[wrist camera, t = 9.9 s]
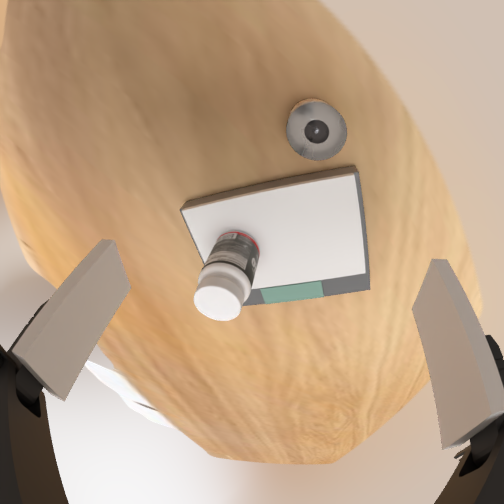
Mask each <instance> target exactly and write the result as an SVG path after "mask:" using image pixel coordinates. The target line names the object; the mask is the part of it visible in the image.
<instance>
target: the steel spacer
mask: <svg viewBox="0 0 504 504" xmlns="http://www.w3.org/2000/svg"><path fill="white" fill-rule="evenodd" d="M286 134H287V138H288V141H289V143H290V145H291V147H292V148H293V149H294V150H295V151H296V152H297V153H298V154H299V155H301V156H303V157H305V158H307V159H311V160H325V159H328V158H331V157H333V156H334V155H336V154H337V153H338V152H339V151H340V150H341V149H342V147H343V146H344V144H345V141H346V137H347V128H346V124H345V121H344V119H343V117H342V116H341V115H340V113H339V112H338V111H337V110H336V109H334V108H333V107H332V106H330V105H329V104H328V103H326V102H324V101H323V100H320V99H315V98H309V99H304V100H302V101H300V102H298V103H297V104H296V105H295V106H294V107H293V109H292V111H291V113H290V116H289V119H288V122H287V126H286Z"/></svg>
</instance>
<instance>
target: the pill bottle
mask: <svg viewBox="0 0 504 504" xmlns="http://www.w3.org/2000/svg"><path fill="white" fill-rule="evenodd" d="M259 256H260V250H259V246H258V244H257V242H256V241H255V240H254V239H253V238H252V237H251V236H250V235H248V234H247V233H244V232H242V231H236V230H234V231H228V232H225V233H223V234H222V235H221V236H219V238H218V239H217V241H216V243H215V245H214V247H213V249H212V251H211V253H210V255H209V257H208V259H207V261H206V263H205V265H204V267H203V268H202V270H201V273H200V275H199V278H198V286H197V289H196V292H195V294H194V303H195V306H196V307H197V309H198V310H199V311H200V312H201V313H202V314H204V315H205V316H207V317H209V318H211V319H214V320H219V321H228V320H231V319H234V318H235V317H237V316H238V315H239V313H240V311H241V308H242V305H243V303H244V302H245V301H246V300H247V298H248V297H249V295H250V292H251V288H252V285H253V280H254V276H255V272H256V268H257V264H258V260H259Z"/></svg>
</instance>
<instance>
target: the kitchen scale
mask: <svg viewBox="0 0 504 504" xmlns="http://www.w3.org/2000/svg"><path fill="white" fill-rule="evenodd" d="M180 212H181V214H182V216H183V219H184V221H185V223H186V225H187V228H188V230H189V232H190V234H191V237H192V239H193V241H194V243H195V246H196V248H197V250H198V252H199V254H200V257H201V259H202V261H203V263H204V265H205V263H206V261H207V259H208V257H209V255H210V253H211V251H212V249H213V247H214V245H215V243H216V241H217V239H218V238H219V236H221V235H222V234H223V233H225V232H228V231H234V230H236V231H242V232H244V233H247V234H248V235H250V236H251V237H252V238H253V239H254V240H255V241H256V242H257V244H258V246H259V250H260V256H259V260H258V264H257V268H256V272H255V276H254V280H253V285H252V288H251V292H250V295H249V297H248V298H247V300H246V301H245V302H244V303H243V305H242V306H247V305H257V304H271V303H280V302H288V301H296V300H304V299H312V298H320V297H324V296H331V295H338V294H344V293H351V292H358V291H364V290H370V275H369V258H368V245H367V234H366V224H365V215H364V207H363V199H362V192H361V185H360V178H359V172H358V170H357V168H356V167H355V166H350V167H344V168H338V169H332V170H326V171H321V172H315V173H310V174H305V175H300V176H294V177H289V178H285V179H280V180H275V181H270V182H266V183H261V184H257V185H252V186H248V187H243V188H239V189H235V190H231V191H226V192H222V193H218V194H214V195H210V196H206V197H202V198H198V199H195V200H191V201H187V202H186V203H185V204H184V205H183V206H182V207H181V209H180Z"/></svg>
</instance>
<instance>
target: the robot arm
mask: <svg viewBox="0 0 504 504" xmlns="http://www.w3.org/2000/svg"><path fill="white" fill-rule="evenodd" d="M130 289H131V286H130V283H129V280H128V277H127V275H126V272H125V269H124V266H123V263H122V261H121V258H120V255H119V252H118V249H117V246H116V243H115V240H104V239H102V240H101V241H100V242H99V243H98V244H97V245H96V246H95V247H94V248H93V249H92V250H91V251H90V253H89V254H88V255H87V256H86V257H85V258H84V259H83V260H82V261H81V262H80V264H79V265H78V266H77V267H76V268H75V269H74V270H73V272H72V273H71V274H70V275H69V276H68V277H67V278H66V280H65V281H64V282H63V283H62V284H61V286H60V287H59V288H58V289H57V290H56V292H55V293H54V294H53V295H52V297H51V298H50V299H49V300H48V301H46V302H45V303H44V304H43V305H41V306H40V308H39V309H38V310H37V311H36V313H35V314H34V317H32V318H31V319H30V321H29V322H28V324H27V325H26V326H25V327H24V329H23V330H22V332H21V333H20V334H19V336H18V337H17V339H16V340H15V342H14V343H13V344H12V346H11V347H10V349H9V350H8V351H7V352H6V351H5V350H4V349H3V347H2V346H1V345H0V504H69V503H68V500H67V497H66V495H65V491H64V488H63V484H62V481H61V477H60V474H59V470H58V466H57V462H56V459H55V454H54V449H53V445H52V440H51V435H50V429H49V423H48V416H47V409H46V401H45V396H44V393H43V392H42V389H43V387H44V388H46V390H48V392H49V393H50V394H52V395H53V396H55V397H57V398H59V399H61V400H63V401H65V400H66V398H67V396H68V394H69V392H70V390H71V388H72V386H73V384H74V383H75V381H76V379H77V377H78V375H79V373H80V372H81V370H82V368H83V366H84V364H85V363H86V361H87V359H88V357H89V356H90V354H91V352H92V350H93V348H94V347H95V345H96V344H97V342H98V340H99V338H100V337H101V335H102V333H103V332H104V330H105V329H106V327H107V325H108V324H109V322H110V320H111V319H112V317H113V316H114V314H115V312H116V311H117V309H118V308H119V306H120V305H121V303H122V301H123V300H124V298H125V297H126V295H127V294H128V292H129V291H130ZM412 311H413V314H414V318H415V321H416V324H417V328H418V331H419V335H420V338H421V342H422V345H423V349H424V353H425V357H426V361H427V365H428V369H429V374H430V378H431V383H432V387H433V392H434V397H435V403H436V408H437V414H438V421H439V427H440V434H441V443H442V450H444V449H448V448H453V447H457V446H460V445H462V444H463V443H465V442H466V441H467V440H469V439H470V443H471V445H469V446H468V447H466V448H465V449H464V450H462V451H460V452H458V453H457V454H456V456H455V457H454V458H455V459H457V458H458V457H460V456H462V455H463V454H464V455H463V457H462V458H461V459H460V460H459V461H460V462H459V464H458V466H457V468H456V469H455V471H454V473H453V475H452V476H451V478H450V480H449V482H448V483H447V485H446V486H445V488H444V490H443V491H442V493H441V494H440V496H439V497H438V499H437V500H436V502H435V503H434V504H504V360H503V356H502V353H501V351H500V348H499V346H498V344H497V343H496V342H495V340H494V339H493V338H492V337H491V335H484V332H483V330H482V328H481V326H480V323H479V321H478V319H477V316H476V314H475V312H474V310H473V308H472V306H471V304H470V302H469V300H468V298H467V296H466V294H465V292H464V290H463V288H462V286H461V284H460V282H459V280H458V278H457V277H456V275H455V273H454V271H453V269H452V268H451V266H450V264H449V262H448V261H447V260H444V259H432V260H431V262H430V265H429V268H428V271H427V273H426V276H425V278H424V281H423V284H422V286H421V288H420V291H419V293H418V296H417V298H416V300H415V303H414V305H413V307H412Z"/></svg>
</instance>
